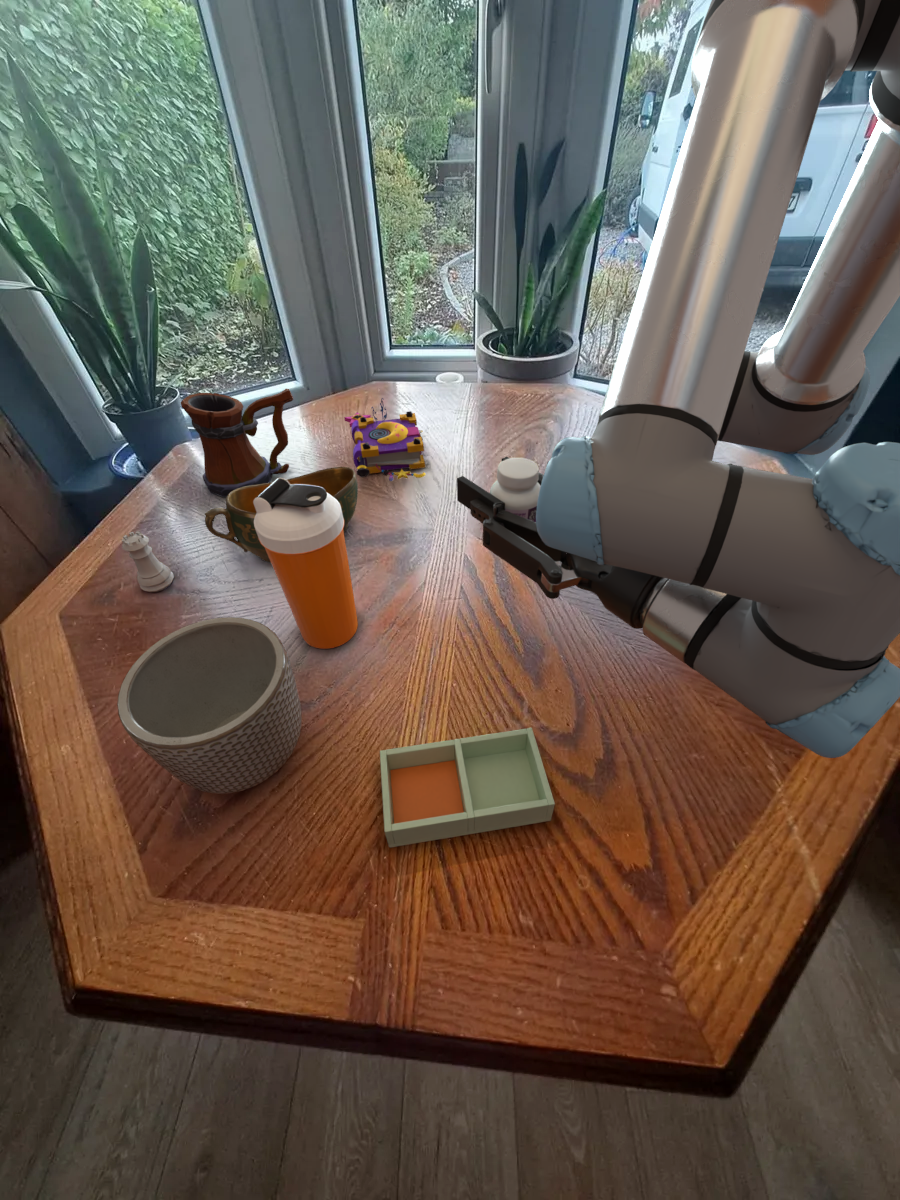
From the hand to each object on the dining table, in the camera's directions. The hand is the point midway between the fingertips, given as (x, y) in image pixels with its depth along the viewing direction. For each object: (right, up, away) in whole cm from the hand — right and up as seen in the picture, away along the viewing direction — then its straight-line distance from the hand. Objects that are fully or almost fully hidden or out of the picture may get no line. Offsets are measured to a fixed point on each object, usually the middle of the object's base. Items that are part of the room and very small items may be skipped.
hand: (482, 478), depth 55 cm
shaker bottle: (-19, -17, +10) cm, 27 cm away
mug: (-37, +9, +37) cm, 53 cm away
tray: (-2, -31, -6) cm, 32 cm away
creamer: (-26, -4, +23) cm, 35 cm away
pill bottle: (+3, -7, +1) cm, 8 cm away
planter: (-24, -29, -2) cm, 38 cm away
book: (-15, +14, +41) cm, 46 cm away
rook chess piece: (-44, -11, +17) cm, 49 cm away
